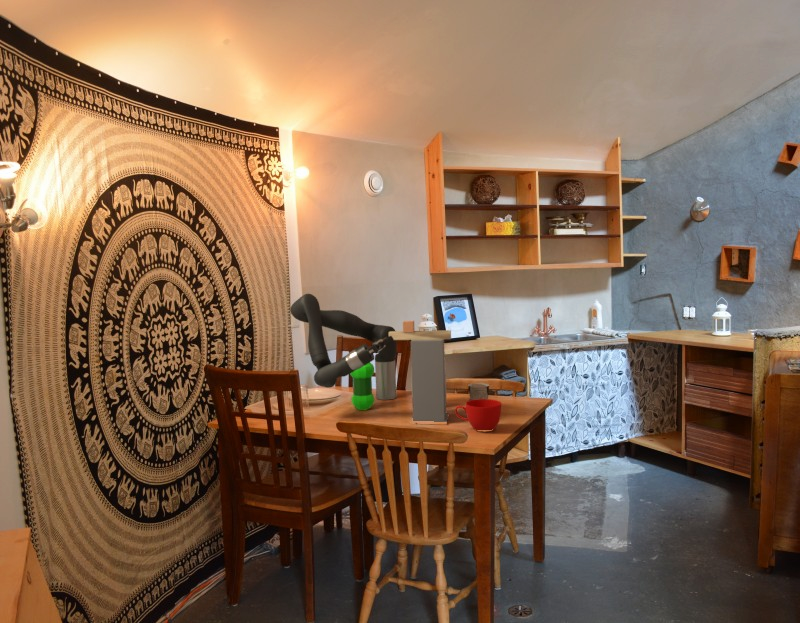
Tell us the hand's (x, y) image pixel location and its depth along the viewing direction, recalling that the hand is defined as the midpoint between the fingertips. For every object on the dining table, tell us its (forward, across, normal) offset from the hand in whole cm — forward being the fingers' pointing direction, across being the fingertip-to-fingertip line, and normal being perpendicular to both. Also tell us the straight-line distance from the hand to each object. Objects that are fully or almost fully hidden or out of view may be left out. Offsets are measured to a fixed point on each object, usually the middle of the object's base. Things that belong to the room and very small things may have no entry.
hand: (394, 336), depth 245 cm
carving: (+11, +8, +45) cm, 47 cm away
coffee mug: (+11, +19, +45) cm, 50 cm away
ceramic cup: (+11, -14, +45) cm, 48 cm away
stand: (-5, 0, +35) cm, 36 cm away
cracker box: (-7, +23, +34) cm, 42 cm away
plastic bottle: (-32, +18, +20) cm, 42 cm away
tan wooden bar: (+8, 0, +6) cm, 10 cm away
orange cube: (+6, 0, +1) cm, 6 cm away
